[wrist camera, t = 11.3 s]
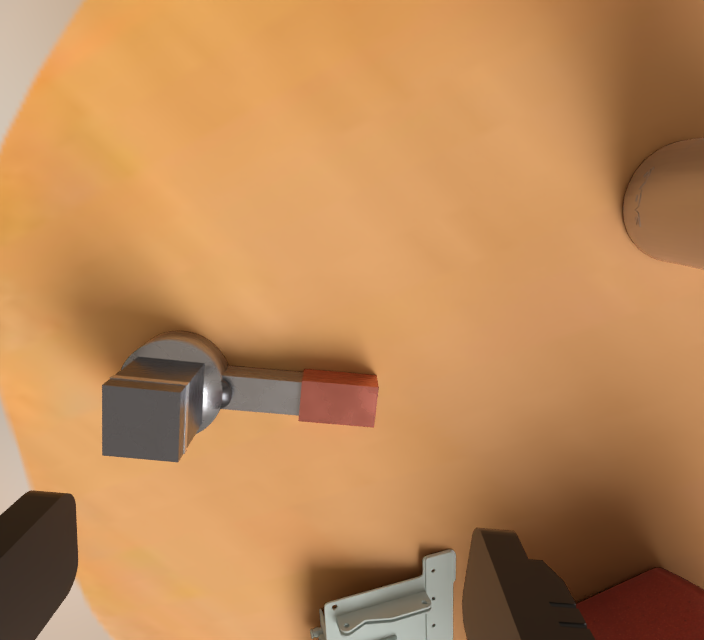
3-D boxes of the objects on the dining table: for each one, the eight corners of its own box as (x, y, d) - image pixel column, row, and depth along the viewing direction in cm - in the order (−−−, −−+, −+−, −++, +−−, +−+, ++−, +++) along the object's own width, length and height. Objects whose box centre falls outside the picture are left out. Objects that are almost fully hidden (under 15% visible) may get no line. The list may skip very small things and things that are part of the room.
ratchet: (379, 348, 42) (385, 373, 36) (368, 437, 44) (373, 474, 38) (133, 326, 41) (98, 348, 35) (133, 417, 43) (100, 452, 37)
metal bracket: (328, 746, 45) (318, 603, 41) (313, 687, 50) (303, 556, 47) (473, 693, 49) (475, 559, 45) (444, 644, 54) (444, 521, 51)
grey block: (205, 362, 39) (181, 392, 33) (202, 424, 40) (178, 462, 34) (137, 355, 39) (101, 384, 33) (136, 417, 40) (101, 456, 34)
